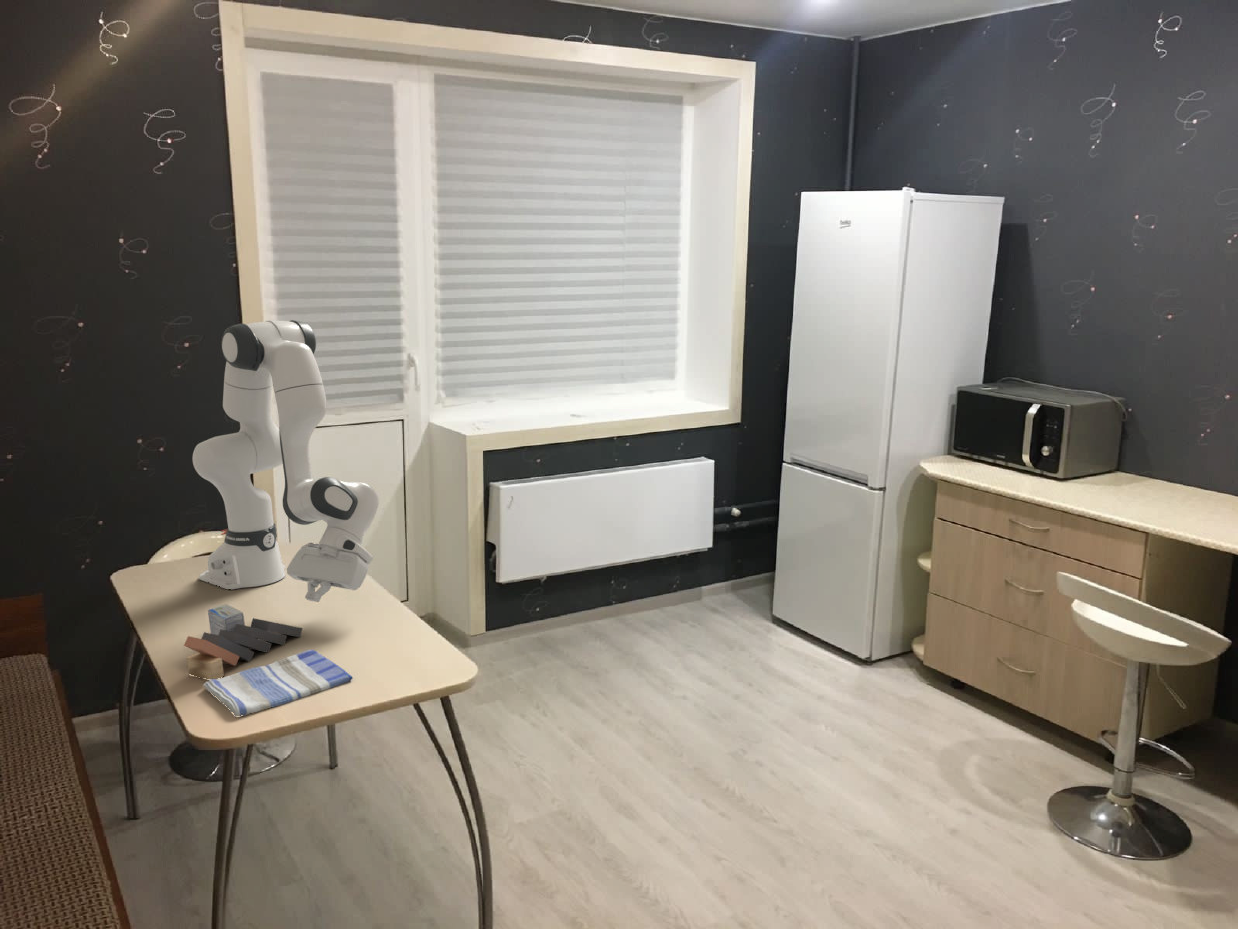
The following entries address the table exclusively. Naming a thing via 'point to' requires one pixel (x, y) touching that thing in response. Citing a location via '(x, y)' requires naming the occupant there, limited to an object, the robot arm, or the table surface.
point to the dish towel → (277, 682)
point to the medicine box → (224, 619)
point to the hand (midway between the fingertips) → (311, 600)
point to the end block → (205, 666)
